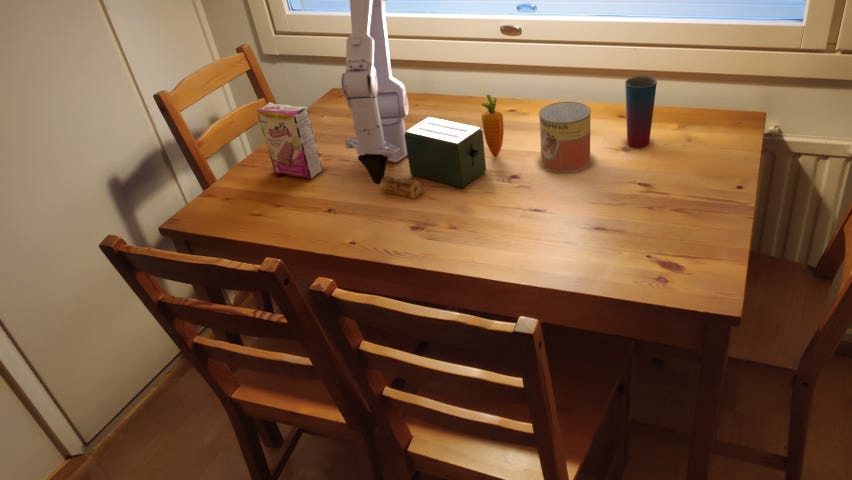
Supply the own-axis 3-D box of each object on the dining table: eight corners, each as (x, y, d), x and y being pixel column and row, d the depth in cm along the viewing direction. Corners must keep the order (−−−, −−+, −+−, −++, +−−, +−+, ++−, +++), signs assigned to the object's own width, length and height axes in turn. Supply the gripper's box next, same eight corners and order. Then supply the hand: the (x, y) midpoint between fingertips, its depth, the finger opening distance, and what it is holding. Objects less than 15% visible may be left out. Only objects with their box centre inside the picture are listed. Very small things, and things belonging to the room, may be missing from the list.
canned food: (530, 161, 158) (528, 112, 152) (566, 145, 164) (565, 97, 157) (564, 177, 151) (563, 127, 144) (600, 160, 156) (601, 110, 149)
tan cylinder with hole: (422, 192, 151) (419, 176, 149) (412, 201, 148) (409, 185, 146) (391, 187, 155) (388, 171, 152) (380, 196, 152) (377, 179, 149)
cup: (620, 148, 160) (622, 86, 151) (626, 136, 165) (629, 75, 156) (650, 151, 157) (653, 88, 149) (655, 138, 162) (659, 76, 154)
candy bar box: (273, 174, 165) (254, 110, 156) (286, 165, 169) (268, 101, 159) (311, 180, 161) (294, 114, 151) (323, 170, 164) (307, 105, 155)
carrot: (504, 161, 160) (499, 100, 151) (483, 161, 161) (477, 100, 152) (507, 152, 164) (503, 91, 155) (487, 152, 165) (481, 92, 156)
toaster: (410, 176, 158) (403, 131, 152) (434, 160, 164) (428, 116, 157) (467, 191, 150) (462, 144, 143) (490, 173, 156) (486, 127, 149)
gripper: (330, 126, 147) (343, 183, 155) (380, 138, 140) (391, 197, 147) (353, 114, 151) (364, 169, 159) (403, 125, 144) (412, 182, 152)
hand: (379, 182), depth 154 cm, fingers closed
